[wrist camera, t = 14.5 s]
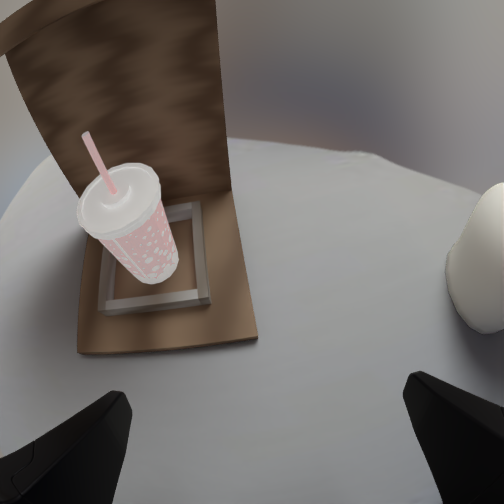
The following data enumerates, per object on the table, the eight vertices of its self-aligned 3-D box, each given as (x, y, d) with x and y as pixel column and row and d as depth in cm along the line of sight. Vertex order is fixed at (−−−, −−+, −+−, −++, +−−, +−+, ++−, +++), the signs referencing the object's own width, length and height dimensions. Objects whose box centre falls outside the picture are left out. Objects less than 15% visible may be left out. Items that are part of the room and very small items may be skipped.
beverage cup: (189, 230, 25) (149, 95, 13) (184, 291, 22) (116, 161, 10) (130, 234, 25) (66, 117, 13) (119, 292, 22) (23, 184, 10)
